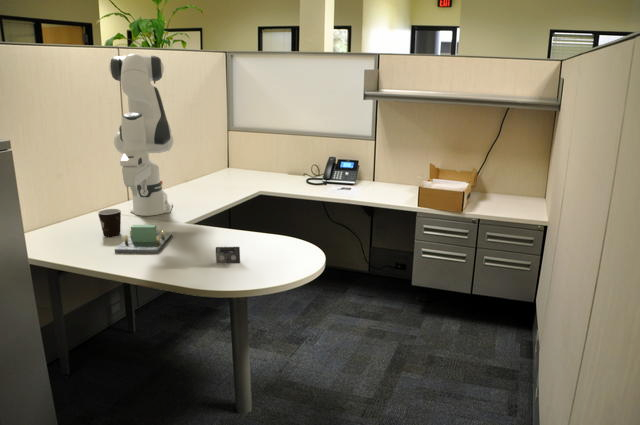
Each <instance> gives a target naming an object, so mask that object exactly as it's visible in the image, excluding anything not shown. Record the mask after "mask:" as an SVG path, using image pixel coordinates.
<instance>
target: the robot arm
mask: <svg viewBox="0 0 640 425" xmlns="http://www.w3.org/2000/svg"><path fill="white" fill-rule="evenodd" d="M108 68H109V73H110V76H111V77H112V78H113V79H114V80H115V81H119V82H120V84H121V86H120V87H121V89H122V90H121V91H122V92H123V93H124V94H125V96H127V105H128V112H127V113H124V114H123V115H121V124H120V125H119V129H118V130H119V131H117V133H116V134H115V136H114V139H113V145H114V147H115V149H116V150H117V152H119V153H120V154H122V157H121V159H120V160H119V163H120V164H119V165H120V167H122V168H121V169H122V170H121V173H122V179H123V184H124V186H125V187H126V188H130V191H131V193H132V208H130V213H133V214H135V215H137V216H146V217H147V216H148V217H149V216H157V215H162V214H168V213H171V212H172V209H173V205H174V204H173V202H171V201H169V200H168V194H167V193H166V192H165V191H164V190H163V180H161V177H160V176H161V175H160V167H159V165H158V164H157V163H156V162H155V161H152V160H150V156H149V154H162V153H166V152H169V151H171V149H172V148H173V146H174V137H173V135H172V129H171V126H170V123H169V122H168V119H167V116H166V111H165V109H164V104H163V100H162V96H161V94H160V91H159V89H158V88H157V87H156V86H154V85H155V84H156V82H158V81H160V80H161V79H162V78H163V75H164V72H165V71H164V70H165V68H164V64H163V61H162V59H161V58H160V57H159V56H157V55H143V54H138V53H129V54H128V55H122V56H121V55H117V56H113V57H112V58H111V59H110V62H109V67H108ZM152 81H153V84H154V85H153V84H152Z"/></svg>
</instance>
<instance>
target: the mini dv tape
mask: <svg viewBox="0 0 640 425" xmlns="http://www.w3.org/2000/svg"><path fill="white" fill-rule="evenodd" d="M240 254H241V250H240V246H216V247H215V260H216V261H215V264H216V265H223V264H225V265H226V264H229V265H230V264H231V265H232V264H235V265H237V264H240V263H241V255H240Z"/></svg>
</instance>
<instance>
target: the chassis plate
mask: <svg viewBox="0 0 640 425" xmlns="http://www.w3.org/2000/svg"><path fill="white" fill-rule="evenodd" d="M173 237H174V232H165V230H160V232H157V236H156V242H132V236H131V230H129V235H128V234H127V235H124V236H123V238H124V240H123V241H122V243H120V244H119V245H118V246H116V248H114V253H115V254H159V253H160V252H161V250H162V249H163V248H164V247H165V246H166V245H167V244H168V243H169V242H170V240H172V238H173Z"/></svg>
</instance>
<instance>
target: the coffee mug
mask: <svg viewBox="0 0 640 425" xmlns="http://www.w3.org/2000/svg"><path fill="white" fill-rule="evenodd" d="M97 213H98V218H99V222H100V225H101V226H100V227H101V230H102V235H103V237H104V238H117V237H119V236H121V229H122V228H121V224H122V223H121V219H122V218H121V217H122V216H121V214H122V210H121V209H119V208H107V209H102V210H99V211H98V212H97Z"/></svg>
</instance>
